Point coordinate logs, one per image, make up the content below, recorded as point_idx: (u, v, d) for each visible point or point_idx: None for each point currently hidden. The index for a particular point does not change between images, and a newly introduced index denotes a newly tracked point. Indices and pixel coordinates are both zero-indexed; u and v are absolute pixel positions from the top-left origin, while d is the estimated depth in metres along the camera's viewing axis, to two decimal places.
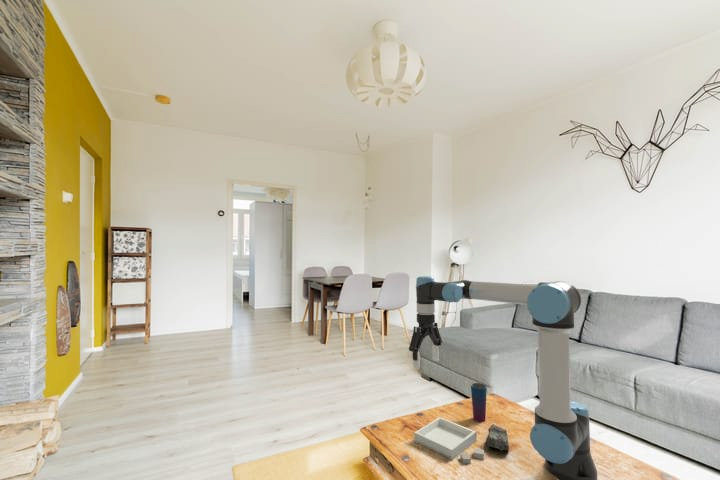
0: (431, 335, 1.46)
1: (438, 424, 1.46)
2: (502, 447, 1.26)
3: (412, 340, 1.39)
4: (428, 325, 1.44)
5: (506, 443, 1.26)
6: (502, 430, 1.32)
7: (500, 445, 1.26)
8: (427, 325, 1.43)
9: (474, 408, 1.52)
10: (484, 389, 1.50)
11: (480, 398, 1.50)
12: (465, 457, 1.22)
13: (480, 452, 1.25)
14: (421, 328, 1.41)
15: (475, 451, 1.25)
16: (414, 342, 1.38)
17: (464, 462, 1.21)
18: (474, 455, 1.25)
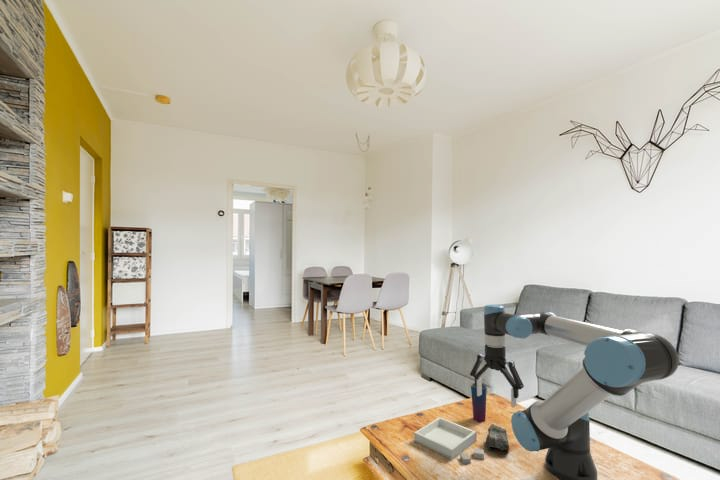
0: None
1: (438, 424, 1.46)
2: (503, 447, 1.26)
3: None
4: (494, 359, 1.32)
5: (506, 443, 1.27)
6: (501, 430, 1.32)
7: (500, 445, 1.26)
8: (493, 358, 1.32)
9: (474, 408, 1.52)
10: (484, 389, 1.50)
11: (480, 398, 1.50)
12: (465, 458, 1.22)
13: (480, 452, 1.25)
14: (484, 357, 1.35)
15: (475, 451, 1.25)
16: None
17: (464, 462, 1.21)
18: (474, 455, 1.25)
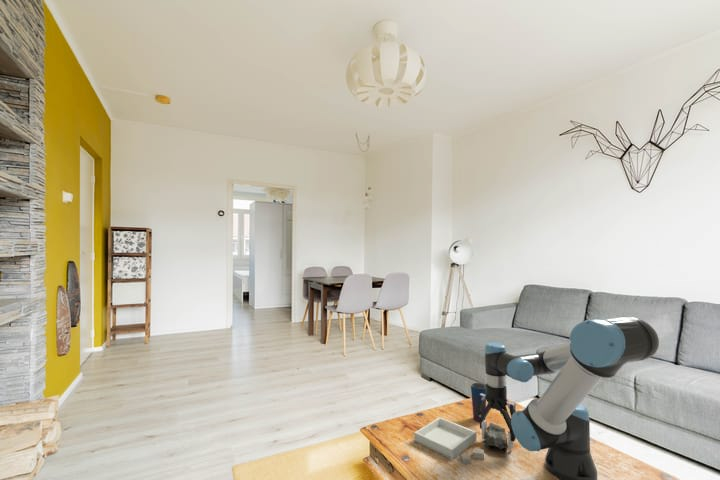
0: None
1: (438, 424, 1.46)
2: (501, 445, 1.27)
3: None
4: (496, 398, 1.31)
5: (505, 441, 1.27)
6: (500, 428, 1.32)
7: (499, 444, 1.27)
8: (494, 397, 1.32)
9: (474, 408, 1.52)
10: (484, 389, 1.50)
11: None
12: (465, 458, 1.22)
13: (480, 452, 1.25)
14: (485, 397, 1.35)
15: (475, 451, 1.25)
16: None
17: (464, 462, 1.21)
18: (474, 455, 1.25)
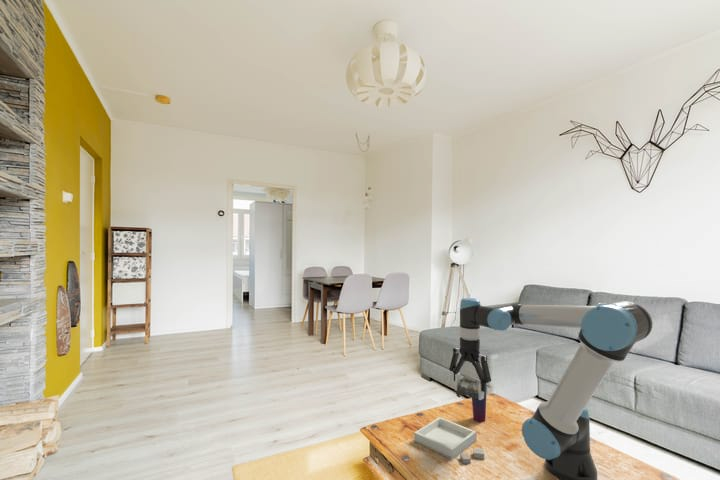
0: None
1: (438, 424, 1.46)
2: (472, 395, 1.30)
3: None
4: (469, 351, 1.34)
5: (476, 391, 1.31)
6: (473, 380, 1.36)
7: (470, 393, 1.31)
8: (467, 350, 1.35)
9: (474, 408, 1.52)
10: None
11: None
12: (465, 457, 1.22)
13: (480, 452, 1.25)
14: (459, 350, 1.38)
15: (475, 451, 1.25)
16: None
17: (464, 462, 1.21)
18: (475, 455, 1.24)
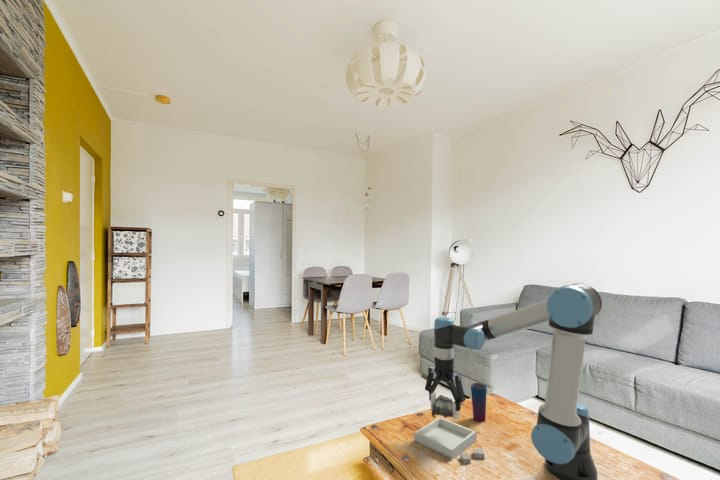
0: None
1: (438, 424, 1.46)
2: (446, 414, 1.31)
3: None
4: (443, 370, 1.36)
5: (450, 411, 1.32)
6: (448, 399, 1.37)
7: (444, 413, 1.31)
8: (441, 370, 1.36)
9: (474, 408, 1.52)
10: (484, 389, 1.50)
11: (480, 398, 1.50)
12: (465, 457, 1.22)
13: (480, 452, 1.25)
14: (434, 369, 1.39)
15: (475, 451, 1.25)
16: None
17: (464, 462, 1.21)
18: (475, 455, 1.24)
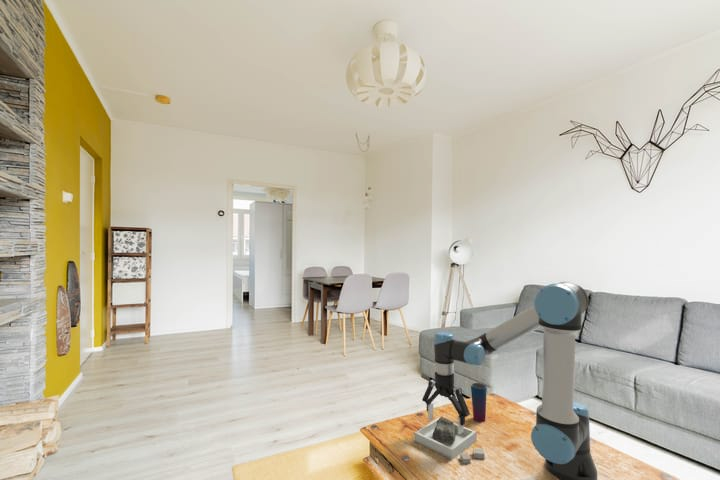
0: None
1: None
2: (447, 438, 1.30)
3: None
4: (443, 385, 1.35)
5: (451, 434, 1.31)
6: (449, 422, 1.36)
7: (445, 436, 1.31)
8: (442, 385, 1.36)
9: (474, 408, 1.52)
10: (484, 389, 1.50)
11: (480, 398, 1.50)
12: (465, 457, 1.22)
13: (480, 452, 1.25)
14: (434, 384, 1.39)
15: (475, 451, 1.25)
16: None
17: (464, 462, 1.21)
18: (475, 456, 1.24)
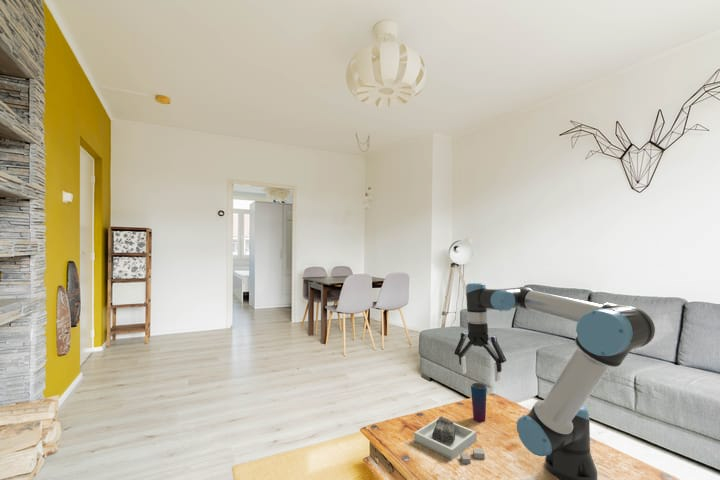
0: None
1: None
2: (447, 438, 1.31)
3: None
4: (477, 335, 1.35)
5: (451, 434, 1.31)
6: (448, 421, 1.36)
7: (445, 436, 1.31)
8: (476, 335, 1.36)
9: (474, 408, 1.52)
10: (484, 389, 1.50)
11: (480, 398, 1.50)
12: (465, 457, 1.22)
13: (480, 452, 1.25)
14: (467, 335, 1.38)
15: (475, 451, 1.25)
16: None
17: (464, 462, 1.21)
18: (475, 456, 1.24)
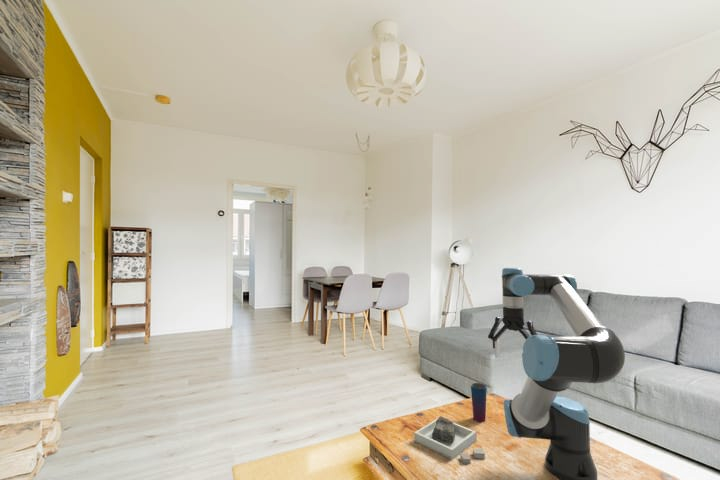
0: None
1: None
2: (447, 437, 1.31)
3: None
4: (513, 319, 1.35)
5: (451, 433, 1.32)
6: (448, 421, 1.37)
7: (445, 436, 1.31)
8: (511, 319, 1.35)
9: (474, 408, 1.52)
10: (484, 389, 1.50)
11: (480, 398, 1.50)
12: (465, 457, 1.22)
13: (480, 452, 1.25)
14: (502, 319, 1.38)
15: (476, 452, 1.25)
16: None
17: (464, 462, 1.21)
18: (475, 456, 1.24)
